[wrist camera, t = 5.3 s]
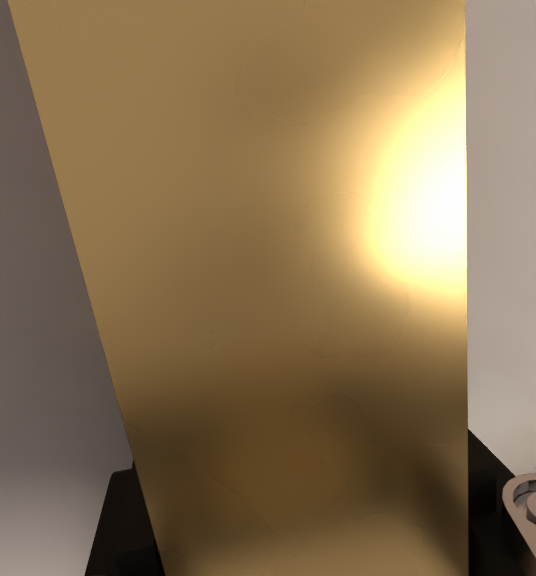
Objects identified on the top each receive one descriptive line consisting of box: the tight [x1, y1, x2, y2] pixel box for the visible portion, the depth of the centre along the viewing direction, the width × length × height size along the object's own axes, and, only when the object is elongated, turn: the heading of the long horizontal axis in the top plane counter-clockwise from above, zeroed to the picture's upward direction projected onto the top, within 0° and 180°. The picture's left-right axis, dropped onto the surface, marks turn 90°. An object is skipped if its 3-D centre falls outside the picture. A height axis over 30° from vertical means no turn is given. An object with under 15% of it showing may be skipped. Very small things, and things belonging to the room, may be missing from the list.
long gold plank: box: [7, 0, 469, 576], centre depth 7 cm, size 4×24×4 cm, turn 8°
